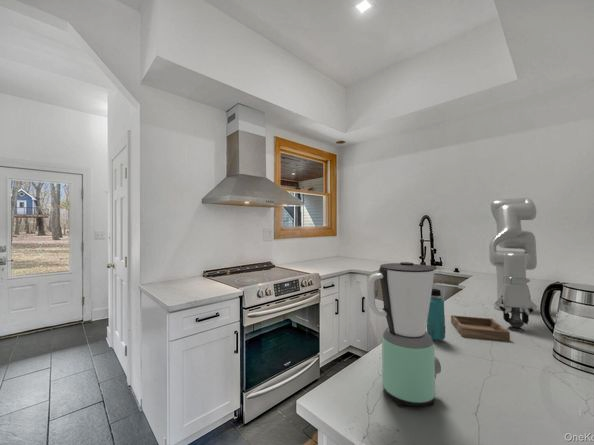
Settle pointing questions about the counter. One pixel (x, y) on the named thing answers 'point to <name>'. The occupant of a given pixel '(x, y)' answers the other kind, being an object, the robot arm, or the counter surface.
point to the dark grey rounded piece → (516, 320)
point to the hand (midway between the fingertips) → (515, 322)
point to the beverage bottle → (436, 317)
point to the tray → (480, 328)
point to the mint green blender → (406, 332)
